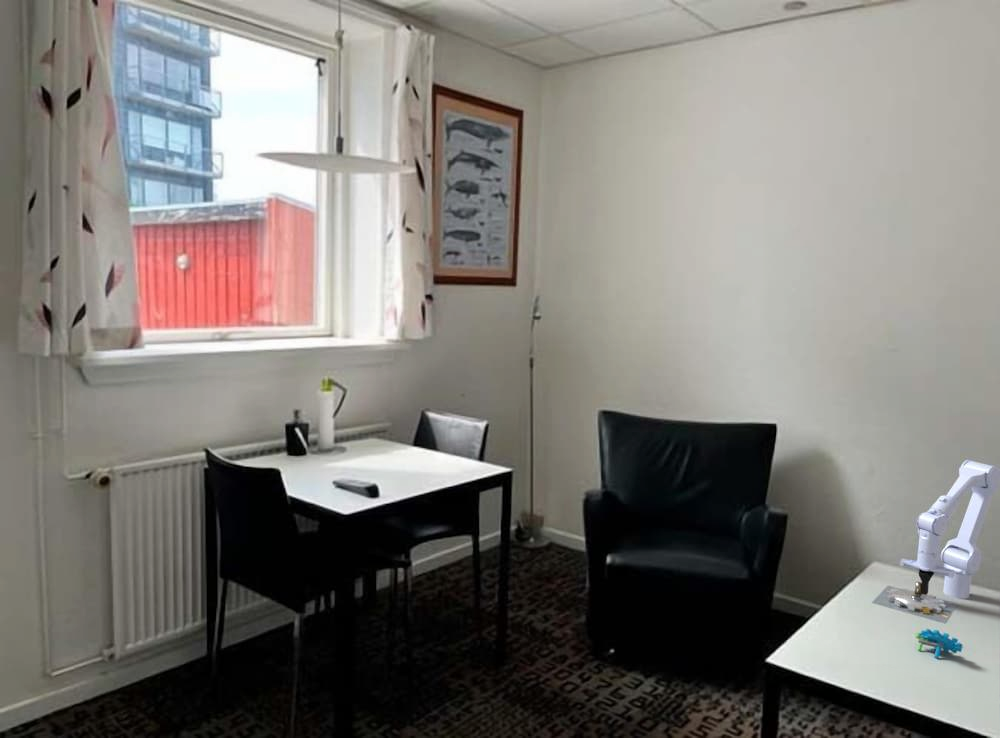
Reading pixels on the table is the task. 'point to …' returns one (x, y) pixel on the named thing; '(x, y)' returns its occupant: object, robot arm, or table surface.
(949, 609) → the base plate
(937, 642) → the blue toy dinosaur
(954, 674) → the table surface
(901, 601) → the sprocket
